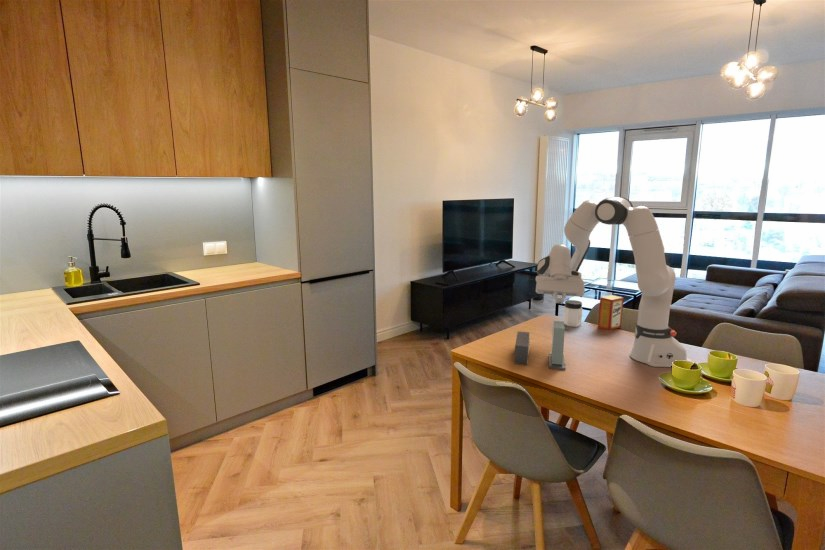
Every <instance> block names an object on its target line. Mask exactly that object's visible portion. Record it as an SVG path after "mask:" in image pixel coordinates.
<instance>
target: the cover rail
mask: <svg viewBox="0 0 825 550" xmlns="http://www.w3.org/2000/svg"><path fill="white" fill-rule="evenodd" d="M565 361H566V360H565V356H564V354H563V364H562V365H558V364H552V353H548V369H550V370H559V371H566V362H565Z"/></svg>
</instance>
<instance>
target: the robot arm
mask: <svg viewBox="0 0 825 550" xmlns="http://www.w3.org/2000/svg"><path fill="white" fill-rule="evenodd" d="M599 223H601V224H604V225H611V226H612V225H622V226H624V227H625V229H626V233H627V236H628V239H629V243H630V246H631V249H632V254H633V257H634V265H635V272H636V273H635V274H636V277H637V278H636V279H637V286H638V287H637V288H638V289H639V291H640V292H641V297H640V301H639V305H638V313H637V322H636V324H635V329H634V337H635V338H634V341H633V342H634V343H633V346H632V348H631V351H630V354H629V357H630V358H632V359H633V360H635V361H636V362H637V361H638V362H641V363H644V364H646V365H648V366H651V367H653V368H654V367H655V368H658V367H659V368H672V367H671V366H672V362H673V361H675V360H686V361H692V359H691V358H690V357H689V356H687V355H688V354H687V350H686V348H685V346H684V345H683V344H682V343H680V342H679V340H677V339H676V338H675V337H676V336H677V332H676V331H675V329H672V328H671V327H670V326H669V318H670V311H671V310H670V309H671V305H672V300H673V297H674V296H673V294H674V289H675V284H676V273H675V270H674V269H673V268H672V267H670V266H669V265H667V263H666V262H667V261H666V255H665V247H664V244H663V240H662V237H661V234H660V230H659V227H658V223H657V220H656V219H655V216H654V214H653V212H652V211H651V209H650V208H649V207H647V206H642V205H640V206H635V207H634V206H633V204H632V202H631V200H629V198H626V197H622V196H611V197H607V198H603V199H602V200H600V201H599V202H596V201H595V200H592V199H591V200H590V199H589V200H585V201H583V202H582V203H581V204H579V206H578V207H576V209H575V210H574V211H573V213H572V214H571V216H570V217H568V219H567V221H566V223H565V225H564V228H563V229H564V230H563V232H564V236H565V237H566V239H567V240H568V241H569V242H570V243H571V245H572V246H573V247H574V248H575V251H574V253H573V255H572V256H571V250H570V247H568V246H566V245H564V244H562V243H561V244H554V245H553V246H552V247H551V249H550V252H549V253H548V255H547V256H544V257H543V258H540V260H538V262H537V264H536V273H537V275H536V276H535V282H536V283H535V284H536V285H535V292H536V294H542V295H552V297H553V298H554V300H555V304H561V305H563V303H564V300H565V299H566V297H567V296H568V297H579V298H582V297H583V296H584V295H585V290H586V289H585V282H584V280H583V278H582V272H579V270H580V267H581V266H582V264H583V262H584V260H585V258H586V256H587V253H588V252H589V249H590V246H591V240H590V235H591V234H592V232H593V231H594V229H595V228H596V226H597V225H598V224H599ZM558 296H561V297H558Z"/></svg>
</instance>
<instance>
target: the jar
mask: <svg viewBox="0 0 825 550" xmlns="http://www.w3.org/2000/svg"><path fill="white" fill-rule="evenodd" d="M562 317H563V319H562V322H564V326H567V327H574V328H575V327H580V326H582V318H583V302H582V301H579V300H577V299H576V300H574V299H573V300H572V299H568V300H565V302H564V306H563V315H562Z"/></svg>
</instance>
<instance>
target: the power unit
mask: <svg viewBox="0 0 825 550" xmlns="http://www.w3.org/2000/svg"><path fill="white" fill-rule="evenodd" d="M530 340H531V337H530V332H527V331H517V332H516V339H515V343H514V344H515V345H514V365H518V366H519V365H520V366H527V365H528V358H529V353H530Z"/></svg>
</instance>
